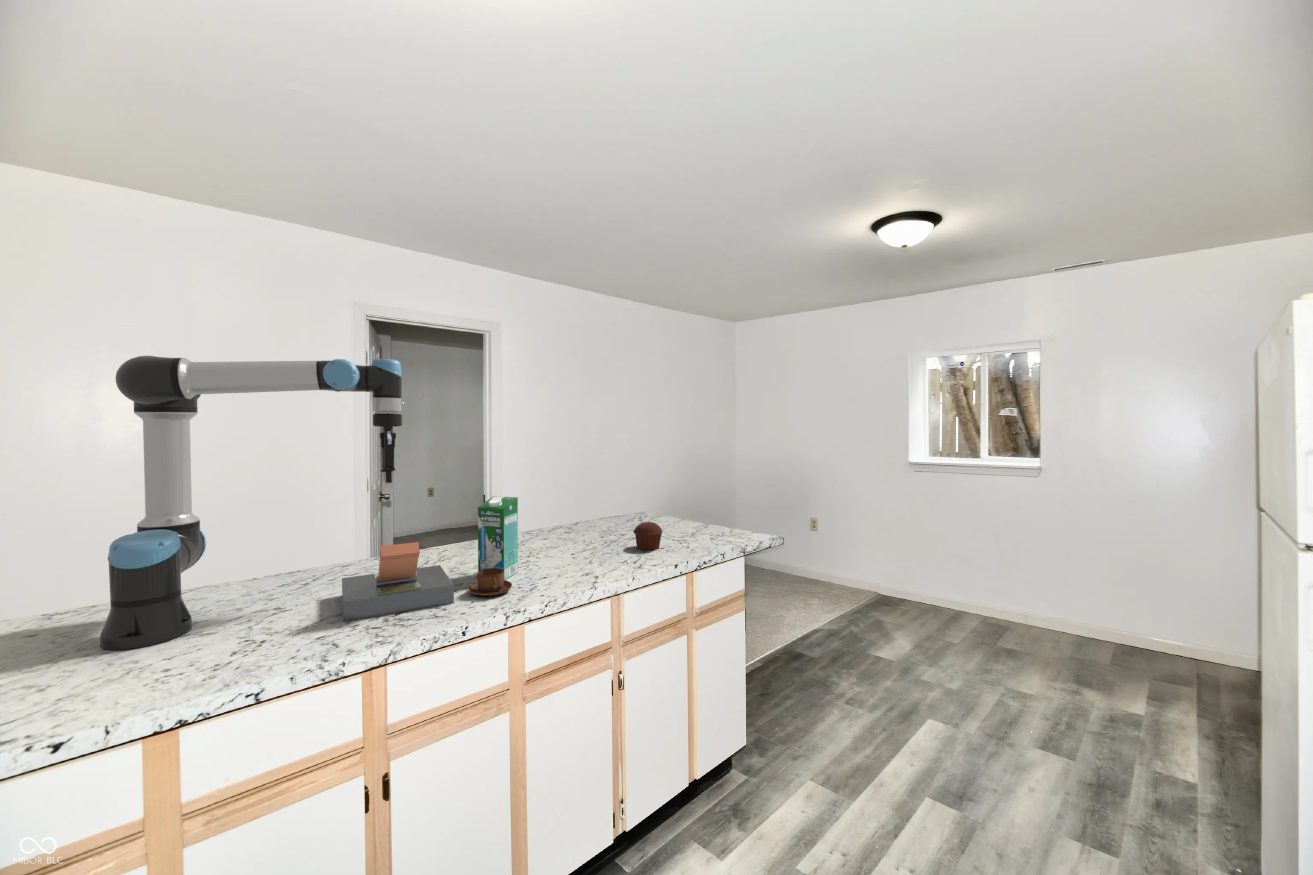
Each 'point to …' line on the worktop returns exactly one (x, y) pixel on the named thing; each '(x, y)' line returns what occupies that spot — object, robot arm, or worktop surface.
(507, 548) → the milk carton
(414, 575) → the orange thin slab
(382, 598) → the box
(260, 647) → the worktop surface
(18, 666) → the worktop surface
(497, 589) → the cup and saucer
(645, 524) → the muffin
